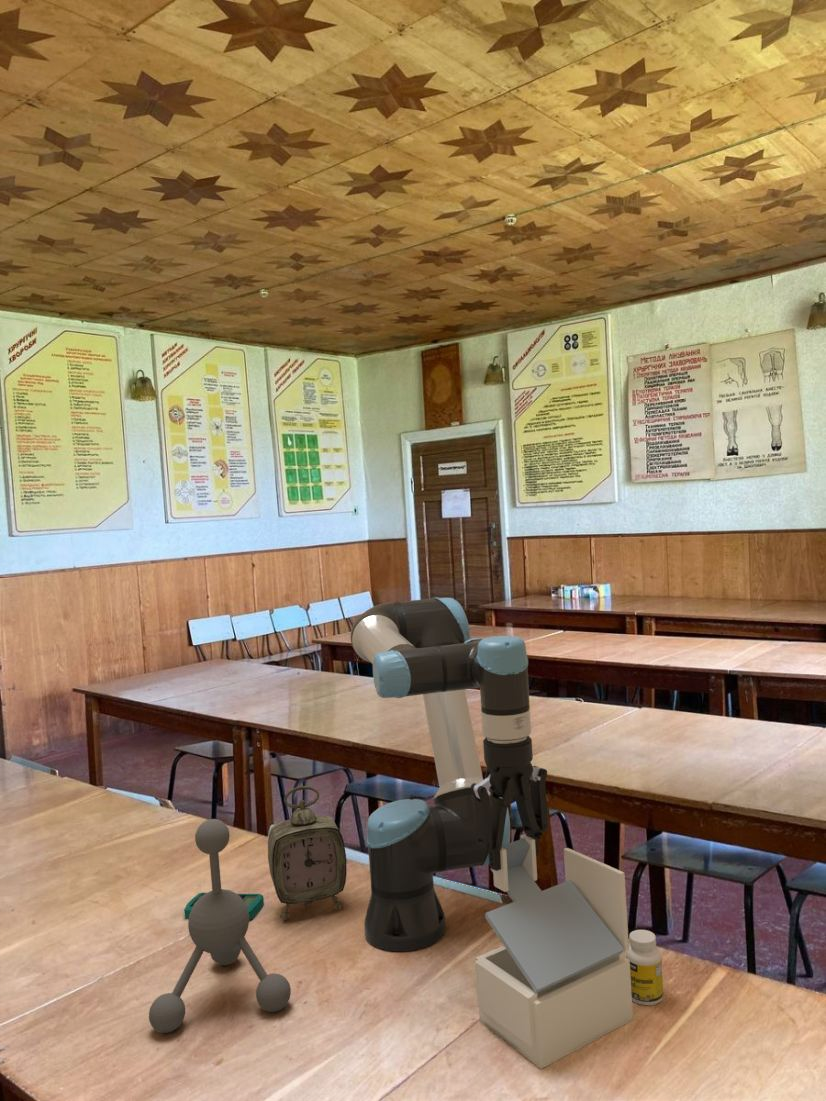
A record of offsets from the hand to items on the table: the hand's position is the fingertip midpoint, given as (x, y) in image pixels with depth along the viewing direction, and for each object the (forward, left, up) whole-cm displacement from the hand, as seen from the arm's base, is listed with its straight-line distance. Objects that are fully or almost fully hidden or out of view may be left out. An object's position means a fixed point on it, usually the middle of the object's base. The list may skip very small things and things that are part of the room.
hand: (515, 882), depth 135 cm
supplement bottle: (+12, +15, -19) cm, 27 cm away
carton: (+8, 0, -19) cm, 20 cm away
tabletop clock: (-50, -13, -19) cm, 55 cm away
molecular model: (-30, -40, -19) cm, 54 cm away
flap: (+5, 0, -3) cm, 6 cm away
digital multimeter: (-61, -27, -19) cm, 70 cm away
